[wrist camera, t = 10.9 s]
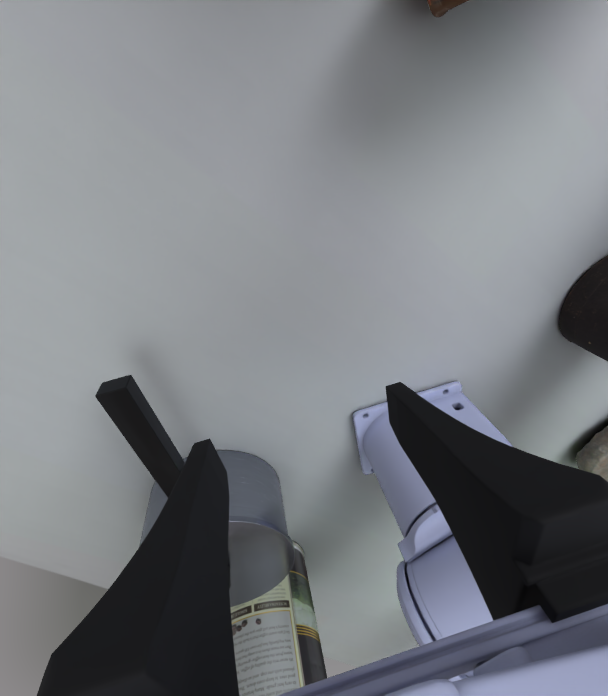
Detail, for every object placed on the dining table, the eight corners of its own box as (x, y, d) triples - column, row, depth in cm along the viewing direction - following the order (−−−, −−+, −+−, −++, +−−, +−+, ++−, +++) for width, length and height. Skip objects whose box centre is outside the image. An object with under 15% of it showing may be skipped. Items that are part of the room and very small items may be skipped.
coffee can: (322, 544, 37) (368, 730, 25) (272, 593, 41) (292, 778, 29) (239, 527, 33) (247, 744, 21) (191, 584, 36) (175, 798, 24)
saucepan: (222, 320, 22) (220, 393, 15) (295, 511, 33) (311, 598, 27) (39, 370, 21) (-43, 469, 15) (179, 548, 33) (168, 646, 26)
